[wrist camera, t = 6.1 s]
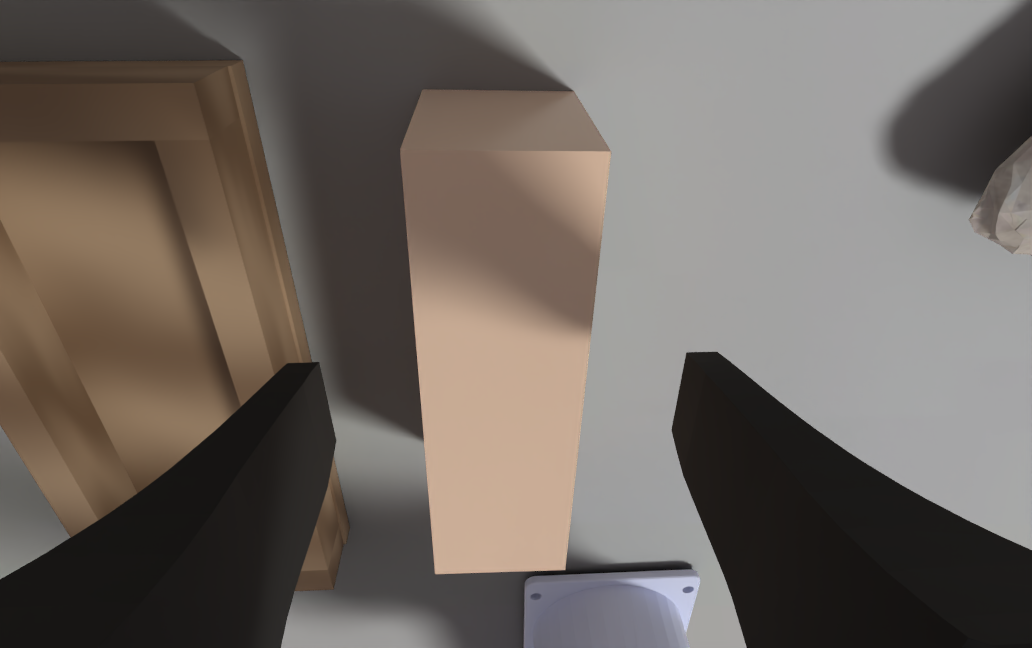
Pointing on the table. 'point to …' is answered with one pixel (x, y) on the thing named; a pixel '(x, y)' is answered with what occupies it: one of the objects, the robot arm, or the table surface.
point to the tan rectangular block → (502, 315)
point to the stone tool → (1008, 203)
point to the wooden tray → (138, 278)
